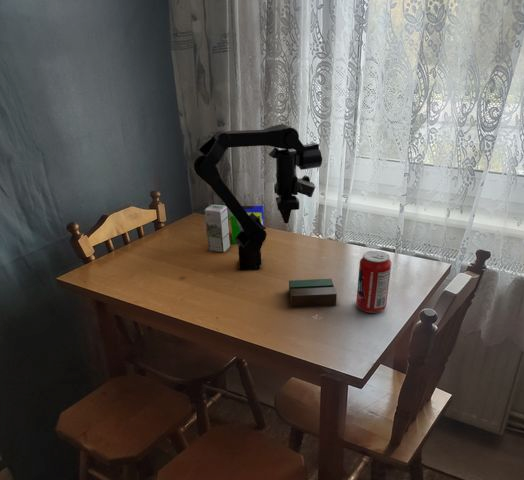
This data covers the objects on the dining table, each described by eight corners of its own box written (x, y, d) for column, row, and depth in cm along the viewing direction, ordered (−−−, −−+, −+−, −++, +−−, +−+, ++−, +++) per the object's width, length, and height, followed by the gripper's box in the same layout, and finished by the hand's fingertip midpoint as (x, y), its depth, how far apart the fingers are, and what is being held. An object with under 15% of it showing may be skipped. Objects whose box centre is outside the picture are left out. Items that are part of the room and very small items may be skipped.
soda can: (379, 318, 126) (385, 265, 118) (351, 310, 130) (355, 258, 122) (390, 304, 132) (396, 253, 124) (362, 297, 135) (367, 247, 127)
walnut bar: (291, 307, 132) (291, 296, 130) (290, 300, 136) (290, 288, 134) (335, 305, 132) (336, 293, 131) (333, 298, 136) (334, 286, 134)
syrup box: (230, 246, 168) (227, 204, 160) (223, 253, 163) (220, 211, 155) (215, 244, 169) (211, 203, 161) (208, 251, 165) (203, 209, 157)
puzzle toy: (264, 233, 177) (263, 206, 171) (261, 244, 168) (260, 216, 163) (236, 232, 178) (234, 205, 172) (232, 243, 169) (230, 215, 164)
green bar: (290, 298, 136) (290, 287, 135) (288, 291, 140) (288, 280, 138) (333, 296, 137) (333, 285, 135) (330, 289, 140) (331, 278, 138)
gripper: (317, 179, 135) (316, 233, 144) (309, 162, 151) (308, 211, 159) (277, 181, 135) (278, 234, 144) (273, 163, 151) (274, 212, 159)
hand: (286, 222), depth 152 cm, fingers closed
